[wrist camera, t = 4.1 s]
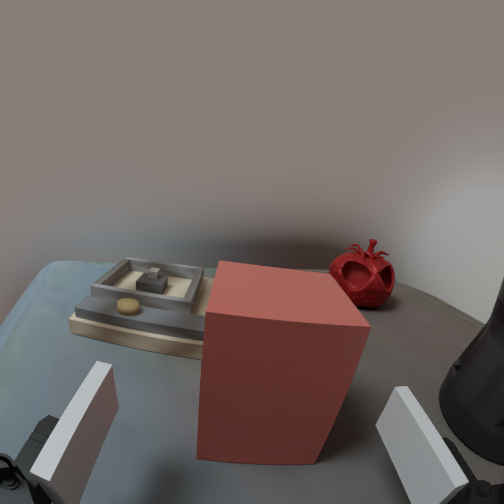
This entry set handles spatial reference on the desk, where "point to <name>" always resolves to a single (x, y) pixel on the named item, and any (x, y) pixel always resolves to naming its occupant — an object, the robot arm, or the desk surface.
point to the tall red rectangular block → (274, 364)
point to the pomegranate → (364, 276)
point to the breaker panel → (147, 307)
